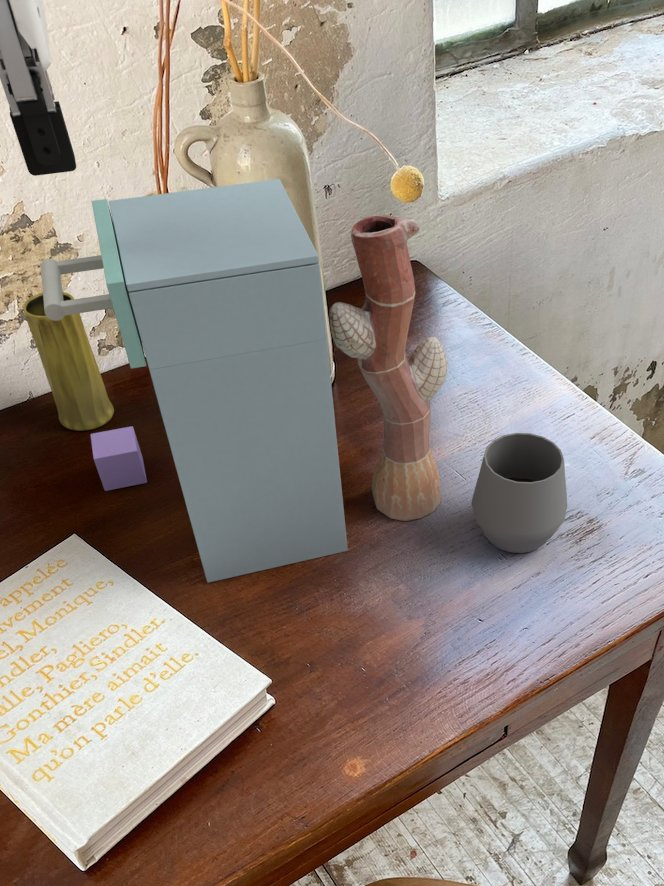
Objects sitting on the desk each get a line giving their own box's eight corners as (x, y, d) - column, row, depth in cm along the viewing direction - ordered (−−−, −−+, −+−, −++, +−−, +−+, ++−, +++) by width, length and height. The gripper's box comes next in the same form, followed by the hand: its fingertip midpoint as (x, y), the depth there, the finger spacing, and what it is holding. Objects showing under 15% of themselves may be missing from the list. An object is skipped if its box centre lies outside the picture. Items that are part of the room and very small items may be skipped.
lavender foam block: (105, 491, 96) (93, 458, 93) (101, 466, 99) (90, 433, 95) (147, 482, 97) (137, 450, 94) (142, 458, 100) (132, 425, 96)
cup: (468, 564, 89) (472, 487, 82) (471, 501, 96) (474, 424, 88) (564, 568, 89) (576, 492, 82) (561, 505, 95) (571, 428, 88)
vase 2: (444, 474, 99) (447, 200, 76) (449, 519, 94) (454, 241, 71) (347, 478, 98) (321, 202, 76) (347, 524, 93) (320, 244, 71)
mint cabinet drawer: (63, 381, 68) (31, 294, 63) (53, 291, 77) (25, 209, 71) (309, 339, 72) (299, 255, 67) (274, 259, 81) (263, 178, 76)
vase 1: (62, 436, 102) (19, 323, 91) (57, 406, 106) (15, 294, 95) (117, 425, 104) (82, 312, 93) (111, 395, 107) (75, 284, 97)
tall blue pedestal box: (207, 583, 87) (125, 284, 64) (186, 492, 96) (108, 200, 73) (347, 551, 90) (318, 255, 67) (315, 465, 99) (279, 178, 76)
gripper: (-116, -189, 54) (-4, 135, 67) (-137, -143, 44) (-2, 223, 58) (17, -193, 56) (99, 123, 69) (23, -150, 46) (118, 207, 60)
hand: (53, 168), depth 64 cm, fingers closed
